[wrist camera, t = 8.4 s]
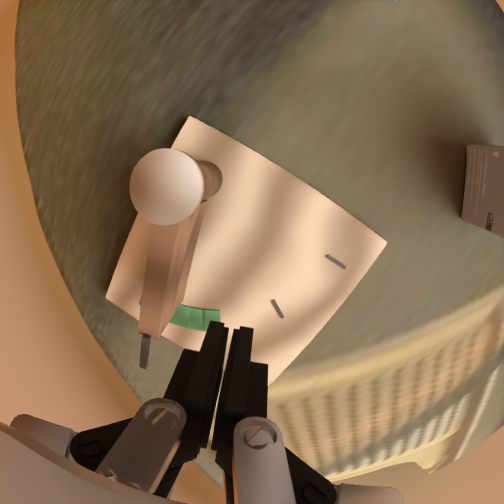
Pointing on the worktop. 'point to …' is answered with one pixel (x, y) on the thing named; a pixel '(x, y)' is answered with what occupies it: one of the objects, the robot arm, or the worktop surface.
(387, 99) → the worktop surface
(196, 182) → the peg
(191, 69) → the worktop surface
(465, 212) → the skincare box
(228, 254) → the tuner plate
